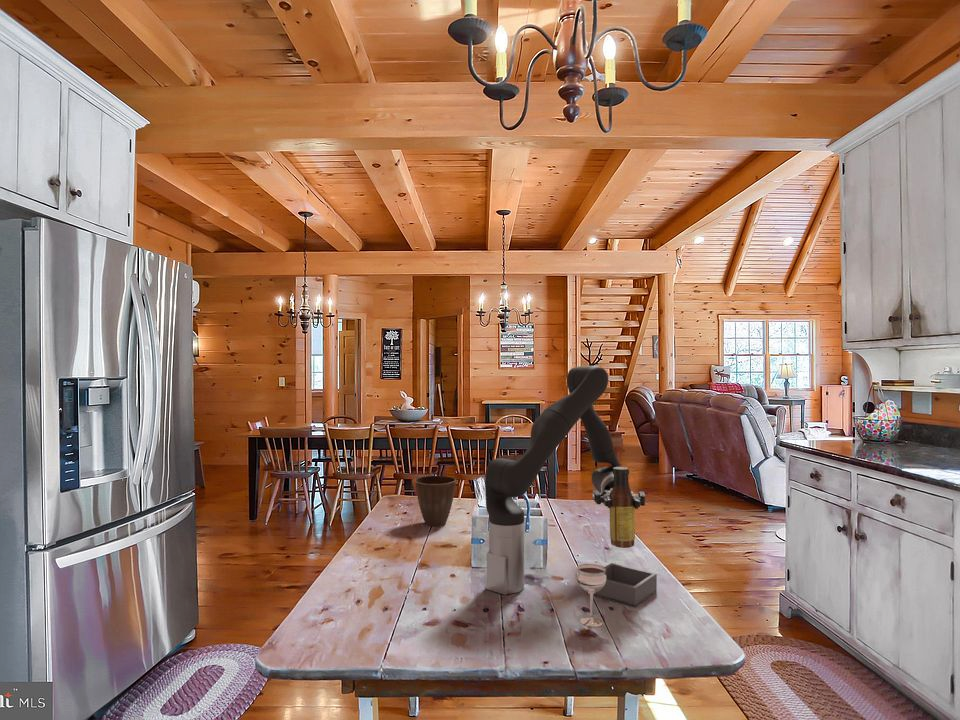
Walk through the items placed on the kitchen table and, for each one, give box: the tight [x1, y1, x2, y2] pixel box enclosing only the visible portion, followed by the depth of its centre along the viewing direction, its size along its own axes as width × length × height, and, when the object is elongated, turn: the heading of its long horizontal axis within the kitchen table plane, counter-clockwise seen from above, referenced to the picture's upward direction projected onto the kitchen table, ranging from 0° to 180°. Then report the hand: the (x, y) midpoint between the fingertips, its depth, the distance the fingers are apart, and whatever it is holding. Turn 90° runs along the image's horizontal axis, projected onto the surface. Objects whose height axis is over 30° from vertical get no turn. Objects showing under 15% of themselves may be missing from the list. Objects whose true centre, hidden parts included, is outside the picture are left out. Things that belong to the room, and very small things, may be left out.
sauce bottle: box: [609, 466, 636, 549], centre depth 153 cm, size 6×6×20 cm
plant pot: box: [414, 475, 457, 527], centre depth 215 cm, size 15×15×16 cm
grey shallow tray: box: [593, 562, 658, 608], centre depth 151 cm, size 13×13×5 cm
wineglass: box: [576, 563, 607, 628], centre depth 134 cm, size 7×7×12 cm
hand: (623, 504), depth 150 cm, fingers closed on sauce bottle, 6 cm apart
